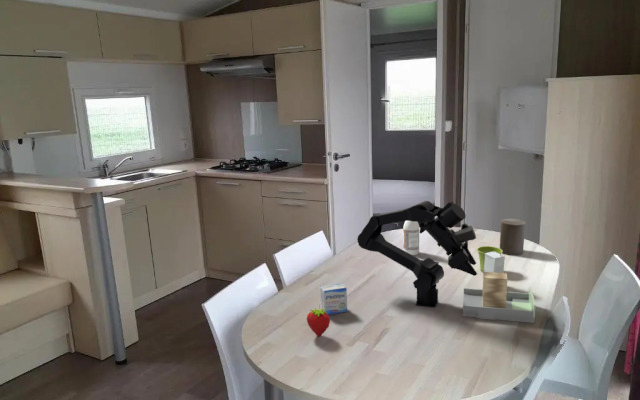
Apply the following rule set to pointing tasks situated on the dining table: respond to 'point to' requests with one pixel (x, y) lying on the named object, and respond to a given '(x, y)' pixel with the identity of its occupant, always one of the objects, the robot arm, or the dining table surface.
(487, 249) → the plant pot
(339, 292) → the medicine box
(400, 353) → the dining table surface
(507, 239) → the pillar candle
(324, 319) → the strawberry
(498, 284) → the block
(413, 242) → the bath foam
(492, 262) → the skincare box
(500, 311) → the lane
